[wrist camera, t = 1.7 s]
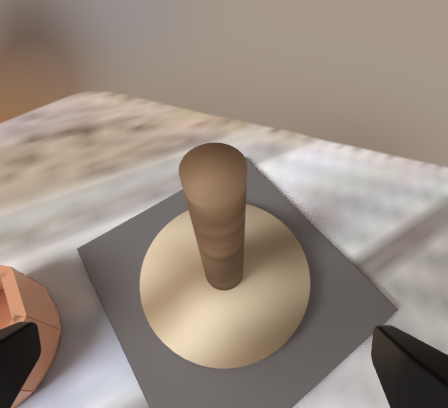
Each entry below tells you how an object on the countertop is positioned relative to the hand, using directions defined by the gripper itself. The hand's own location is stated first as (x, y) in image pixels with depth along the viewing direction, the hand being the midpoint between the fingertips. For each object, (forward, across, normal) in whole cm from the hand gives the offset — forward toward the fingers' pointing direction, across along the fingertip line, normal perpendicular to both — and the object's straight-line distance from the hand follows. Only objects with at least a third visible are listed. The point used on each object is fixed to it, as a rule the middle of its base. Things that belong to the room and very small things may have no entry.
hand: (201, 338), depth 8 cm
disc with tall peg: (+13, 0, +4) cm, 14 cm away
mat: (+13, 0, +5) cm, 14 cm away
